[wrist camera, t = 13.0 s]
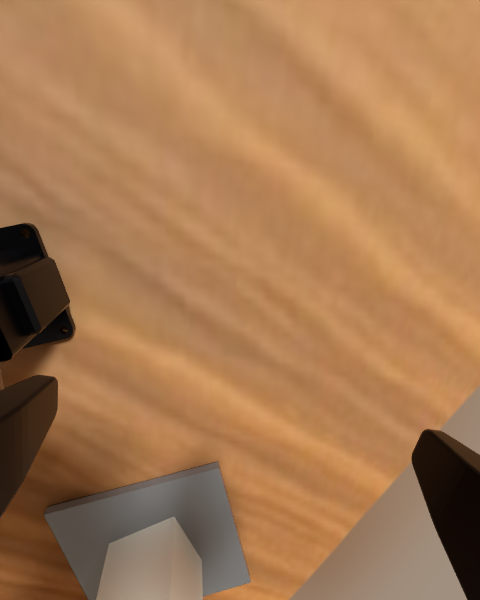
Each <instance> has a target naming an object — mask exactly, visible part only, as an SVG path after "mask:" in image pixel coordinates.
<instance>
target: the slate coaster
mask: <svg viewBox="0 0 480 600" xmlns="http://www.w3.org/2000/svg"><path fill="white" fill-rule="evenodd" d="M173 516H174V517H175V518H176V520H177V522H178V523H179V525H180V526H181V528H182V530H183V531H184V533H185V534H186V536H187V537H188V539H189V541H190V542H191V544H192V545H193V547H194V548H195V550H196V552H197V553H198V555H199V556H200V558H201V560H202V585H203V596H206V595H209V594H213V593H216V592H220V591H223V590H227V589H230V588H233V587H237V586H240V585H244V584H247V583H251V580H250V574H249V570H248V567H247V563H246V560H245V556H244V552H243V549H242V545H241V542H240V538H239V534H238V531H237V527H236V524H235V520H234V516H233V513H232V509H231V506H230V502H229V498H228V495H227V491H226V488H225V484H224V480H223V477H222V473H221V470H220V466H219V462H215V463H211V464H207V465H204V466H200V467H196V468H192V469H189V470H185V471H181V472H177V473H173V474H170V475H166V476H162V477H158V478H155V479H151V480H147V481H143V482H140V483H136V484H132V485H128V486H125V487H121V488H117V489H113V490H110V491H106V492H102V493H98V494H94V495H91V496H87V497H83V498H79V499H76V500H72V501H68V502H64V503H61V504H57V505H53V506H49V507H47V508H46V511H45V513H44V517H45V519H46V521H47V523H48V524H49V526H50V528H51V530H52V532H53V534H54V536H55V538H56V540H57V542H58V543H59V545H60V547H61V549H62V551H63V553H64V555H65V557H66V559H67V560H68V562H69V564H70V566H71V568H72V570H73V572H74V574H75V576H76V578H77V579H78V581H79V583H80V585H81V587H82V589H83V591H84V593H85V595H86V597H87V598H88V600H96V598H97V594H98V589H99V585H100V580H101V576H102V572H103V567H104V563H105V559H106V554H107V550H108V546H109V543H112V542H114V541H116V540H119V539H121V538H123V537H126V536H128V535H131V534H133V533H135V532H138V531H140V530H143V529H145V528H147V527H150V526H152V525H154V524H157V523H159V522H162V521H164V520H166V519H169V518H171V517H173Z"/></svg>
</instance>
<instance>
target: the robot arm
mask: <svg viewBox="0 0 480 600" xmlns="http://www.w3.org/2000/svg"><path fill="white" fill-rule="evenodd" d="M24 229H27V230H29V231H30V237H29V238H28V237H26V236H25V235H24V234H23V231H24ZM69 303H70V300H69V297H68V294H67V292H66V289H65V287H64V284H63V281H62V279H61V276H60V274H59V271H58V268H57V266H56V263H55V261H54V260H53V259H52V258H50V257H48V254H47V252H46V249H45V247H44V244H43V242H42V239H41V236H40V234H39V231H38V229H37V228H36V227H35V226H34V225H33V224H30V223H23V224H18V225H13V226H9V227H4V228H0V517H1V516H2V514H3V513H4V511H5V509H6V508H7V506H8V505H9V503H10V502H11V500H12V498H13V497H14V495H15V494H16V492H17V490H18V489H19V487H20V485H21V484H22V482H23V480H24V478H25V476H26V474H27V473H28V471H29V469H30V467H31V465H32V463H33V461H34V459H35V456H36V454H37V452H38V450H39V448H40V446H41V444H42V442H43V440H44V438H45V436H46V434H47V432H48V430H49V428H50V426H51V424H52V422H53V420H54V418H55V415H56V412H57V405H58V381H57V379H56V378H55V377H52V376H44V375H36V376H33V377H31V378H28V379H26V380H24V381H21V382H19V383H16V384H14V385H12V386H9V387H7V388H5V389H4V385H3V379H2V372H1V365H3V364H4V363H5V362H6V361H8V360H10V359H11V358H12V357H13V356H14V355H15V354H16V353H18V352H19V351H20V350H21V349H23V348H27V347H31V346H35V345H40V344H44V343H48V342H53V341H57V340H61V339H65V338H68V337H70V336H71V335H72V334H73V333H74V332H75V329H76V328H75V324H74V321H73V319H72V316H71V314H70V311H69V308H68V305H69ZM62 326H66V327H67V328H68V329H69V331H68V332H65V331H63V329H62ZM412 464H413V467H414V470H415V473H416V476H417V478H418V481H419V484H420V487H421V490H422V493H423V496H424V499H425V501H426V504H427V507H428V510H429V513H430V515H431V518H432V521H433V523H434V526H435V529H436V531H437V533H438V536H439V538H440V540H441V542H442V544H443V547H444V549H445V551H446V553H447V555H448V558H449V560H450V562H451V564H452V567H453V569H454V571H455V573H456V576H457V578H458V580H459V582H460V584H461V587H462V589H463V591H464V593H465V595H466V598H467V600H480V455H479V454H477V453H476V452H474V451H472V450H471V449H469V448H468V447H466V446H465V445H463V444H461V443H460V442H458V441H457V440H455V439H454V438H452V437H450V436H449V435H447V434H445V433H444V432H442V431H438V430H431V429H426V430H424V431H423V432H422V433H421V435H420V438H419V440H418V442H417V444H416V446H415V448H414V451H413V453H412Z"/></svg>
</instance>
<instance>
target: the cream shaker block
mask: <svg viewBox="0 0 480 600" xmlns="http://www.w3.org/2000/svg"><path fill="white" fill-rule="evenodd" d="M96 600H203V585H202V560H201V558H200V556H199V555H198V553H197V552H196V550H195V548H194V547H193V545H192V544H191V542H190V541H189V539H188V537H187V536H186V534H185V533H184V531H183V530H182V528H181V526H180V525H179V523H178V522H177V520H176V518H175V517H174V516H173V517H171V518H169V519H166V520H164V521H162V522H159V523H157V524H154V525H152V526H150V527H147V528H145V529H143V530H140V531H138V532H135V533H133V534H131V535H128V536H126V537H123V538H121V539H119V540H116V541H114V542H112V543H109V546H108V550H107V554H106V559H105V563H104V567H103V572H102V576H101V580H100V585H99V589H98V594H97V598H96Z"/></svg>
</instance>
